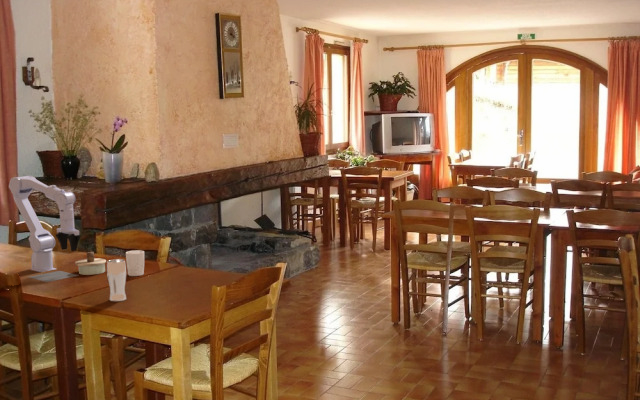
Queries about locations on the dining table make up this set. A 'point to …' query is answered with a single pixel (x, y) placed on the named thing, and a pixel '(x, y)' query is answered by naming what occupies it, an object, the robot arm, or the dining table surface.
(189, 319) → the dining table surface
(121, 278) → the beer glass
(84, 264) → the lid
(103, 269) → the bowl
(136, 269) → the white cup
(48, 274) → the mat
